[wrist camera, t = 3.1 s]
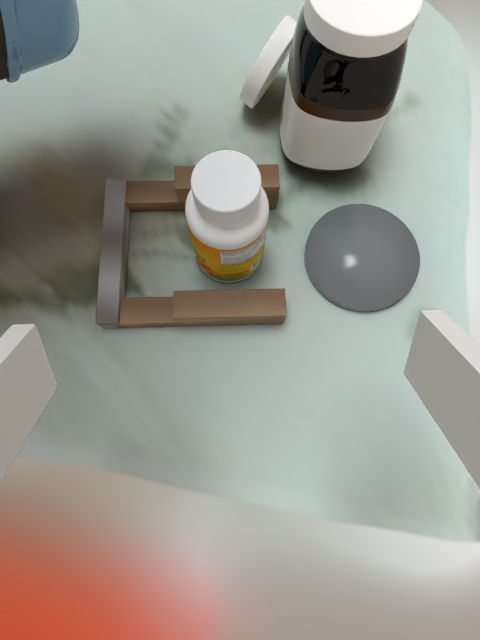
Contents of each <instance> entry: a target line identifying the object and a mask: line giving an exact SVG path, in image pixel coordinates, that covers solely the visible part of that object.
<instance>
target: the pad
mask: <svg viewBox="0 0 480 640" xmlns="http://www.w3.org/2000/svg"><path fill="white" fill-rule="evenodd" d="M304 260H305V267H306V270H307V273H308V276H309V278H310V280H311V282H312V283H313V285H314V286H315V288H316V289H317V290H318V291H319V292H320V293H321V294H322V295H323V296H324V297H325V298H326V299H328V300H329V301H330V302H332V303H334V304H335V305H337V306H340V307H342V308H345V309H348V310H352V311H358V312H370V311H376V310H381V309H383V308H386V307H388V306H390V305H392V304H394V303H395V302H397V301H398V300H399V299H401V298H402V297H403V296H404V295H406V294H407V293H408V292H409V290H410V289H411V288H412V286H413V284H414V283H415V281H416V278H417V275H418V272H419V266H420V256H419V250H418V246H417V243H416V241H415V239H414V237H413V235H412V233H411V232H410V230H409V229H408V228H407V226H406V225H405V224H404V223H403V222H402V221H401V220H400V219H398V218H397V217H396V216H394V215H393V214H392V213H390V212H388V211H386V210H384V209H381V208H379V207H376V206H372V205H366V204H350V205H345V206H341V207H338V208H335V209H333V210H331V211H330V212H328V213H326V214H325V215H324V216H323V217H321V218H320V219H319V220H318V222H317V223H316V224H315V225H314V227H313V229H312V230H311V232H310V235H309V237H308V239H307V243H306V246H305V253H304Z"/></svg>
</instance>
